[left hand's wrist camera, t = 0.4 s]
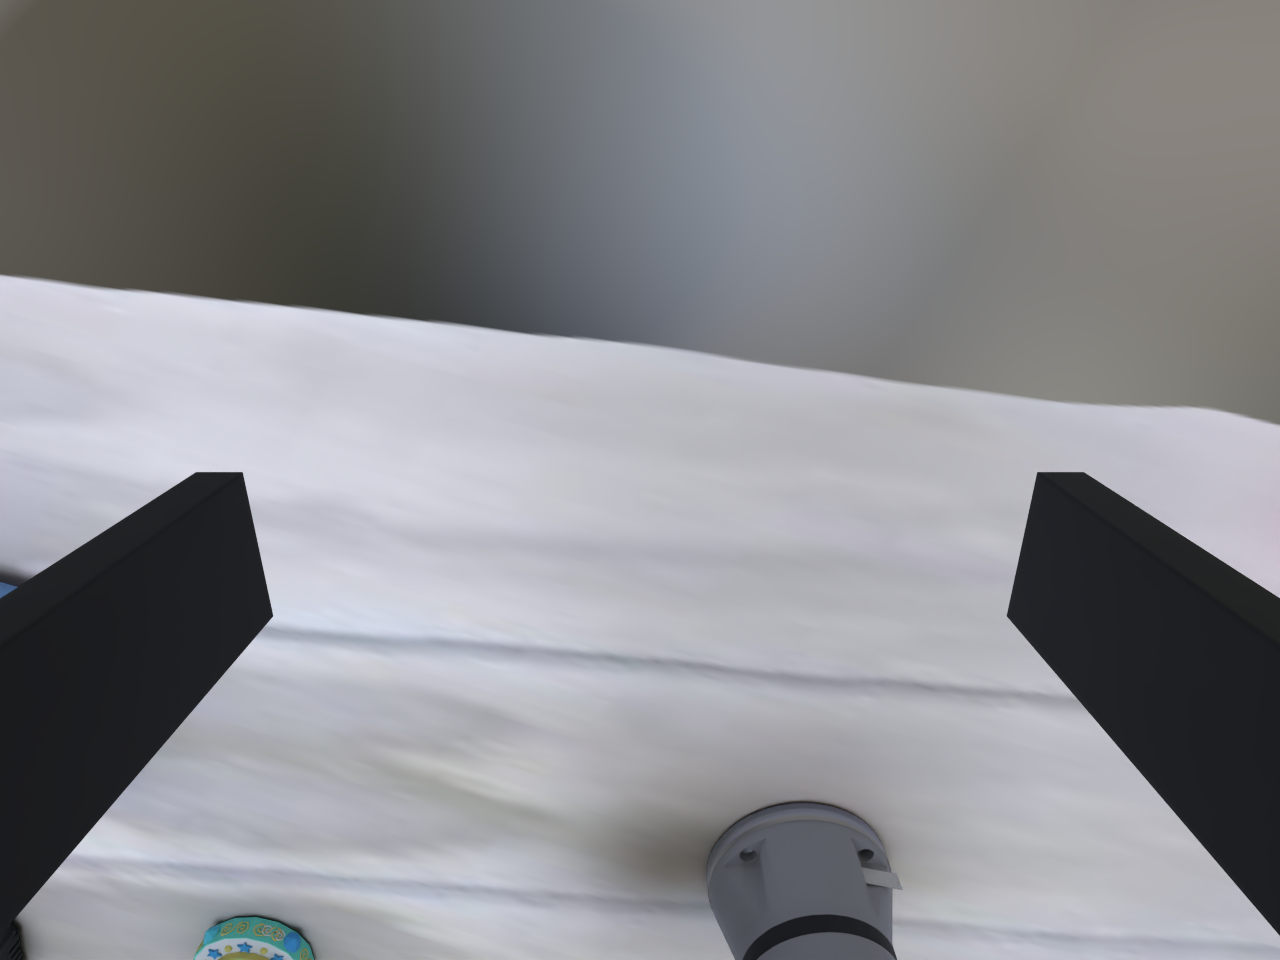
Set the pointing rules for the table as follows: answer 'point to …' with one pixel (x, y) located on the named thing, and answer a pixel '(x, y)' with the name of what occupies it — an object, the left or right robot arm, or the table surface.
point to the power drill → (10, 944)
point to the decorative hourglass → (252, 941)
